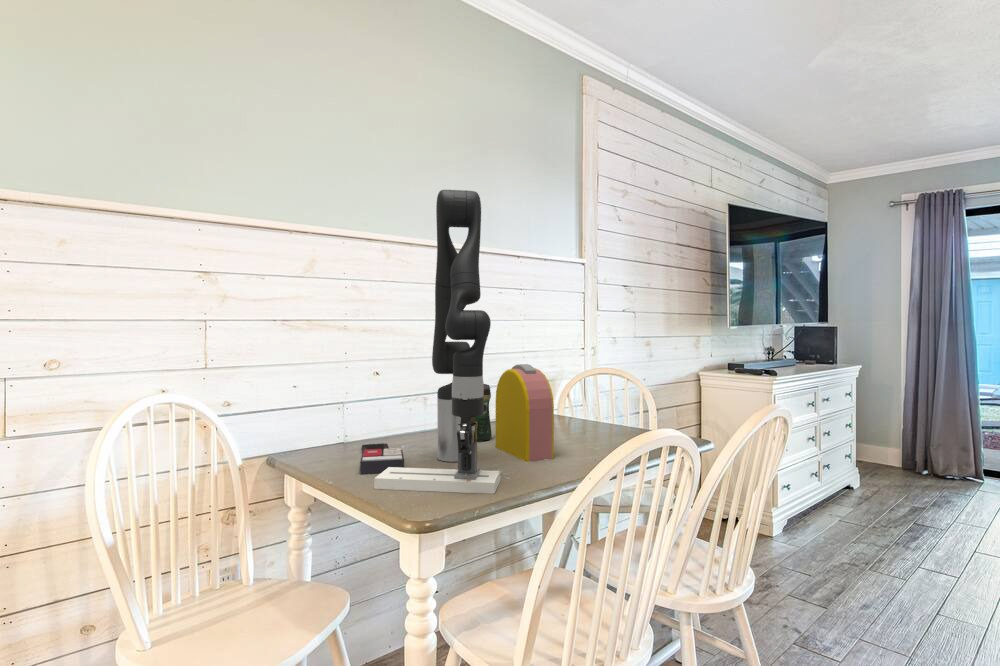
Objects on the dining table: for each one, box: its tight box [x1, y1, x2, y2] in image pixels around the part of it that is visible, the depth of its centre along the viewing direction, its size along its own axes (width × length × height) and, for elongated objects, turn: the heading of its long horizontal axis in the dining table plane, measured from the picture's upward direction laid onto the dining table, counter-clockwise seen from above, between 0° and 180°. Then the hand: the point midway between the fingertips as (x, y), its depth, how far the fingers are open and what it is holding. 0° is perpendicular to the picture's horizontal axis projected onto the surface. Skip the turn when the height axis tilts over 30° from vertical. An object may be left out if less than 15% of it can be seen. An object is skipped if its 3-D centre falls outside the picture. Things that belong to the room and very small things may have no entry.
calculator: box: [359, 447, 405, 476], centre depth 147 cm, size 11×4×15 cm
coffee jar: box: [475, 383, 492, 442], centre depth 181 cm, size 10×8×19 cm
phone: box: [361, 443, 390, 453], centre depth 164 cm, size 8×1×15 cm
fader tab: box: [454, 441, 481, 479], centre depth 129 cm, size 6×5×8 cm
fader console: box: [373, 467, 501, 495], centre depth 130 cm, size 10×28×3 cm, turn 83°
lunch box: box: [495, 363, 555, 463], centre depth 163 cm, size 21×9×26 cm, turn 25°
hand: (467, 467), depth 129 cm, fingers closed on fader tab, 3 cm apart
